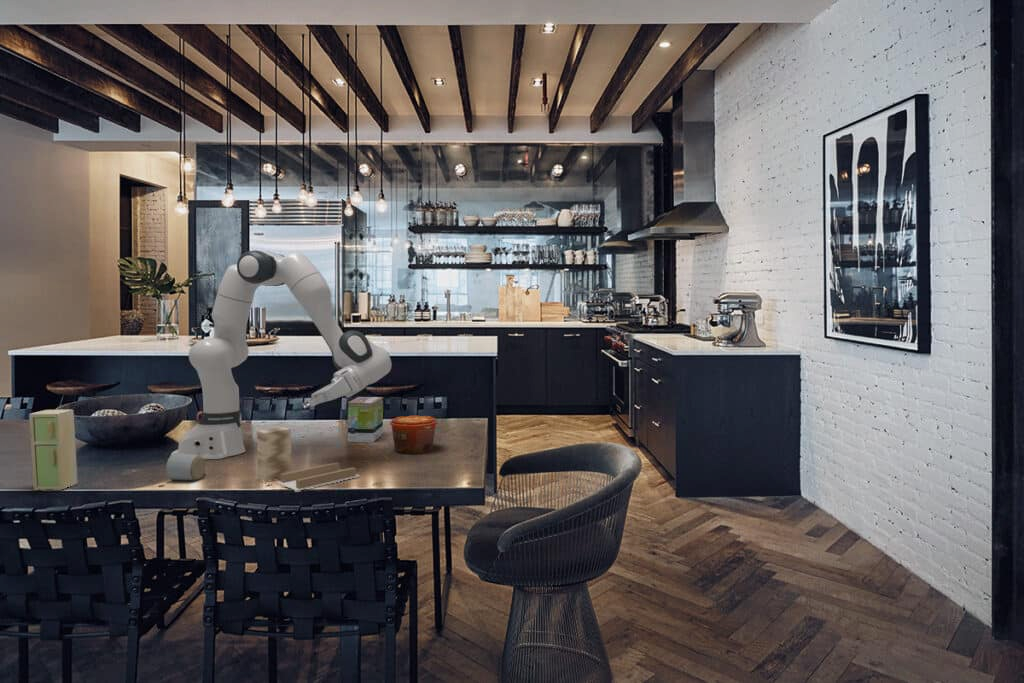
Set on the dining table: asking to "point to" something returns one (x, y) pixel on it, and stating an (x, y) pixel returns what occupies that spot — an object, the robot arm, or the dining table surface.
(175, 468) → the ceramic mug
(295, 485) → the track
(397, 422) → the food container
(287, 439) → the wooden block
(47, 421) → the toy refrigerator
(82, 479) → the dining table surface
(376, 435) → the tea box
